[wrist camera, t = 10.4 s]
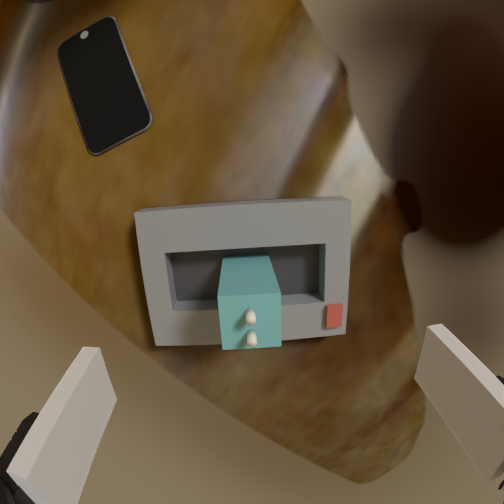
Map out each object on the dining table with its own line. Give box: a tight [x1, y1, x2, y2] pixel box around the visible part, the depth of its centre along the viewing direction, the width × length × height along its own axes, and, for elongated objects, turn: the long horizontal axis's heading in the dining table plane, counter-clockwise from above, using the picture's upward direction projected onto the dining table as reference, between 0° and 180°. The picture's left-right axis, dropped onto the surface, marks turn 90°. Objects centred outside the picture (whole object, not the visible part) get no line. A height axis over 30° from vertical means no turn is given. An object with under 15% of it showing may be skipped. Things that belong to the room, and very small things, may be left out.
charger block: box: [217, 254, 281, 350], centre depth 28 cm, size 4×4×11 cm
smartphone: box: [57, 16, 153, 155], centre depth 27 cm, size 8×1×15 cm
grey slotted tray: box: [134, 197, 351, 346], centre depth 32 cm, size 14×20×3 cm
